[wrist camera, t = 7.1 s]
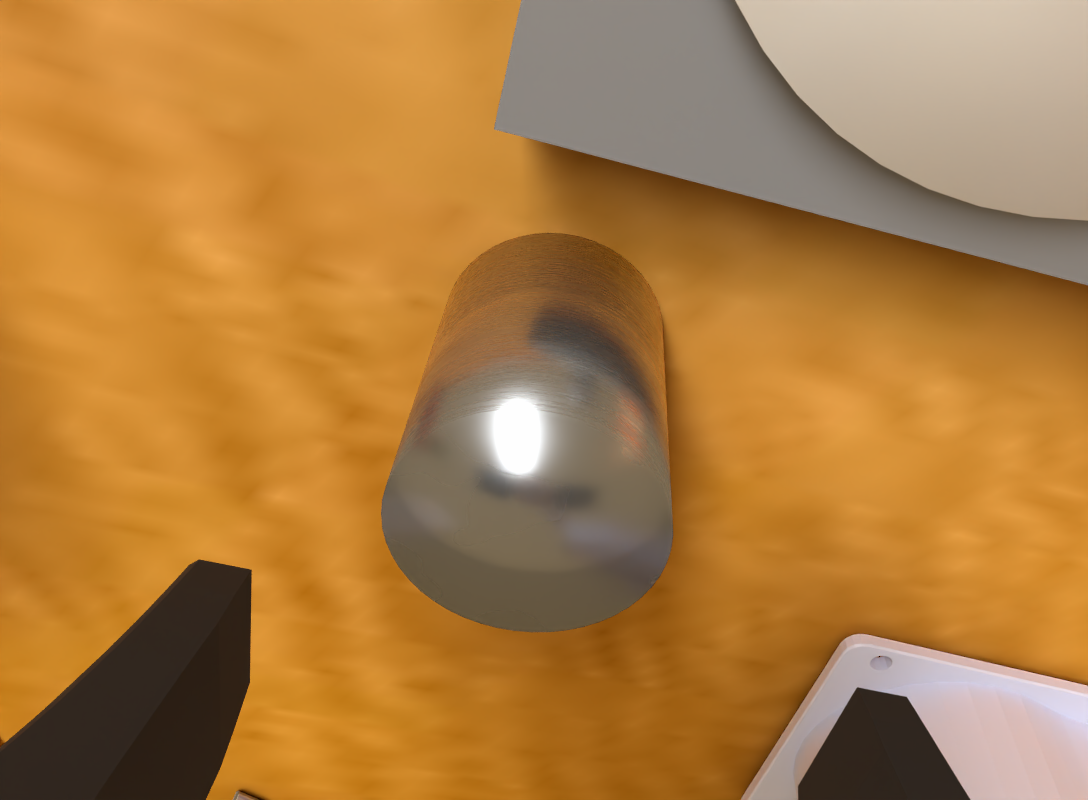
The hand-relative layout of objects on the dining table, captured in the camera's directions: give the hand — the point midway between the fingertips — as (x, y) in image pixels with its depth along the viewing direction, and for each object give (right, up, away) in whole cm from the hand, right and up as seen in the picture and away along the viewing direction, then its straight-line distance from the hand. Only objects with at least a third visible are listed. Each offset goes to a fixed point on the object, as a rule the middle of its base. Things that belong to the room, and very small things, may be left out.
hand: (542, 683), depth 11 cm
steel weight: (0, +5, +8) cm, 10 cm away
